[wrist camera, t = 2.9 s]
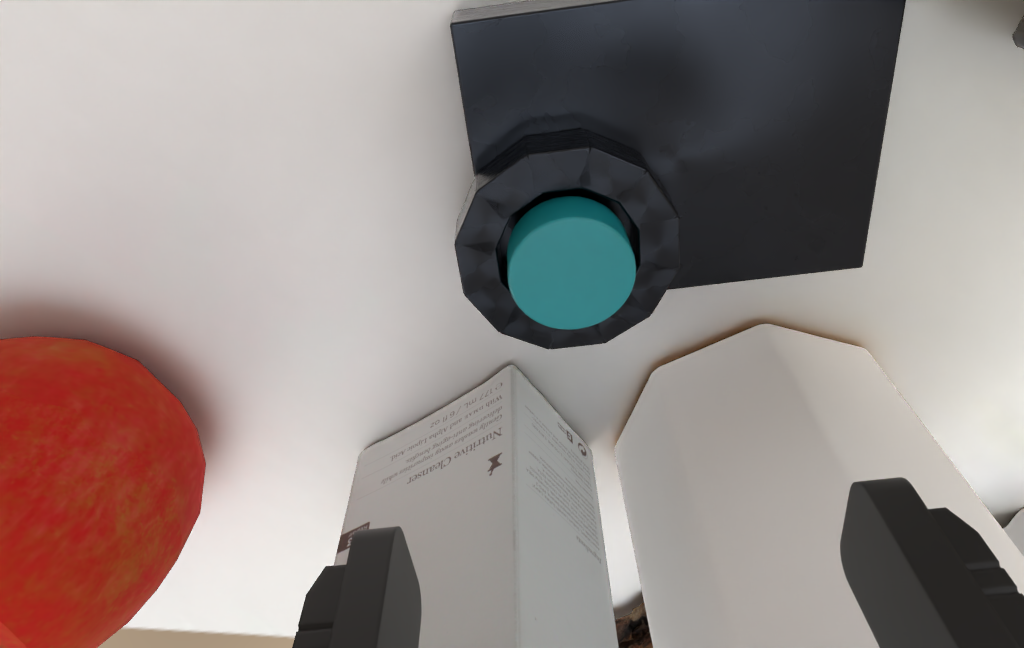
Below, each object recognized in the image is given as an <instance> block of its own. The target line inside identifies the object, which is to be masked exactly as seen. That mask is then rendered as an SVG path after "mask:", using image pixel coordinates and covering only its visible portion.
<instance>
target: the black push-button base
mask: <svg viewBox="0 0 1024 648" xmlns="http://www.w3.org/2000/svg"><path fill="white" fill-rule="evenodd" d="M905 2H906V0H531V1H524V2H516V3H509V4H502V5H495V6H487V7H480V8H473V9H466V10H458V11H455V12H454V14H453V17H452V20H451V24H450V28H451V34H452V41H453V47H454V53H455V59H456V65H457V72H458V78H459V84H460V90H461V96H462V103H463V109H464V115H465V121H466V127H467V134H468V140H469V146H470V152H471V158H472V165H473V171H474V177H475V178H474V181H473V183H472V185H471V188H470V190H469V193H468V195H467V197H466V200H465V202H464V205H463V207H462V210H461V212H460V214H459V217H458V219H457V226H456V235H455V244H454V245H455V251H456V256H457V261H458V267H459V272H460V277H461V283H462V288H463V293H464V294H465V296H466V297H467V298H468V299H469V301H470V302H471V303H472V304H473V305H474V306H475V307H476V308H477V309H478V310H479V311H480V312H481V314H482V315H483V316H484V317H485V318H486V319H487V320H488V321H489V322H490V323H491V324H492V325H493V326H494V328H495V329H496V330H497V331H498V332H500V333H502V334H505V335H508V336H511V337H514V338H517V339H520V340H522V341H525V342H528V343H531V344H534V345H537V346H540V347H543V348H546V349H558V348H567V347H576V346H585V345H594V344H602V343H606V342H608V341H610V340H611V339H613V338H615V337H616V336H618V335H620V334H621V333H623V332H625V331H626V330H628V329H630V328H631V327H633V326H635V325H636V324H638V323H640V322H641V321H643V320H645V319H646V318H648V317H650V315H651V314H652V313H653V311H654V309H655V308H656V306H657V305H658V303H659V301H660V300H661V298H662V297H663V295H664V293H665V292H666V290H668V289H677V288H685V287H694V286H703V285H712V284H720V283H729V282H738V281H746V280H755V279H764V278H773V277H781V276H790V275H799V274H808V273H816V272H825V271H834V270H842V269H851V268H860V267H862V266H863V260H864V253H865V247H866V241H867V235H868V229H869V223H870V217H871V211H872V204H873V198H874V192H875V186H876V180H877V174H878V168H879V162H880V156H881V149H882V143H883V137H884V131H885V125H886V119H887V113H888V107H889V100H890V94H891V88H892V82H893V76H894V70H895V64H896V58H897V51H898V45H899V39H900V33H901V27H902V21H903V15H904V9H905ZM565 196H576V197H584V198H588V199H591V200H594V201H597V202H599V203H601V204H603V205H604V206H606V207H607V208H609V209H610V210H611V211H612V212H613V213H614V214H615V215H616V216H617V217H618V218H619V220H620V221H621V223H622V224H623V226H624V229H625V231H626V233H627V236H628V239H629V242H630V245H631V248H632V251H633V254H634V257H635V262H636V277H635V282H634V285H633V288H632V291H631V293H630V295H629V297H628V298H627V300H626V301H625V303H624V304H623V305H622V306H621V307H620V309H619V310H617V311H616V312H615V313H614V314H613V315H612V316H610V317H609V318H607V319H606V320H604V321H602V322H600V323H598V324H595V325H593V326H589V327H586V328H581V329H571V330H567V329H557V328H552V327H548V326H545V325H543V324H540V323H538V322H536V321H535V320H533V319H531V318H530V317H529V316H527V315H526V314H525V313H524V312H523V311H522V310H521V309H520V308H519V307H518V305H517V304H516V303H515V301H514V299H513V297H512V295H511V292H510V289H509V285H508V275H507V247H508V242H509V238H510V235H511V233H512V231H513V229H514V227H515V225H516V224H517V223H518V221H519V220H520V219H521V218H522V217H523V216H524V215H525V214H526V213H527V212H528V211H529V210H531V209H532V208H533V207H535V206H537V205H538V204H540V203H542V202H545V201H547V200H550V199H553V198H558V197H565Z"/></svg>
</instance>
